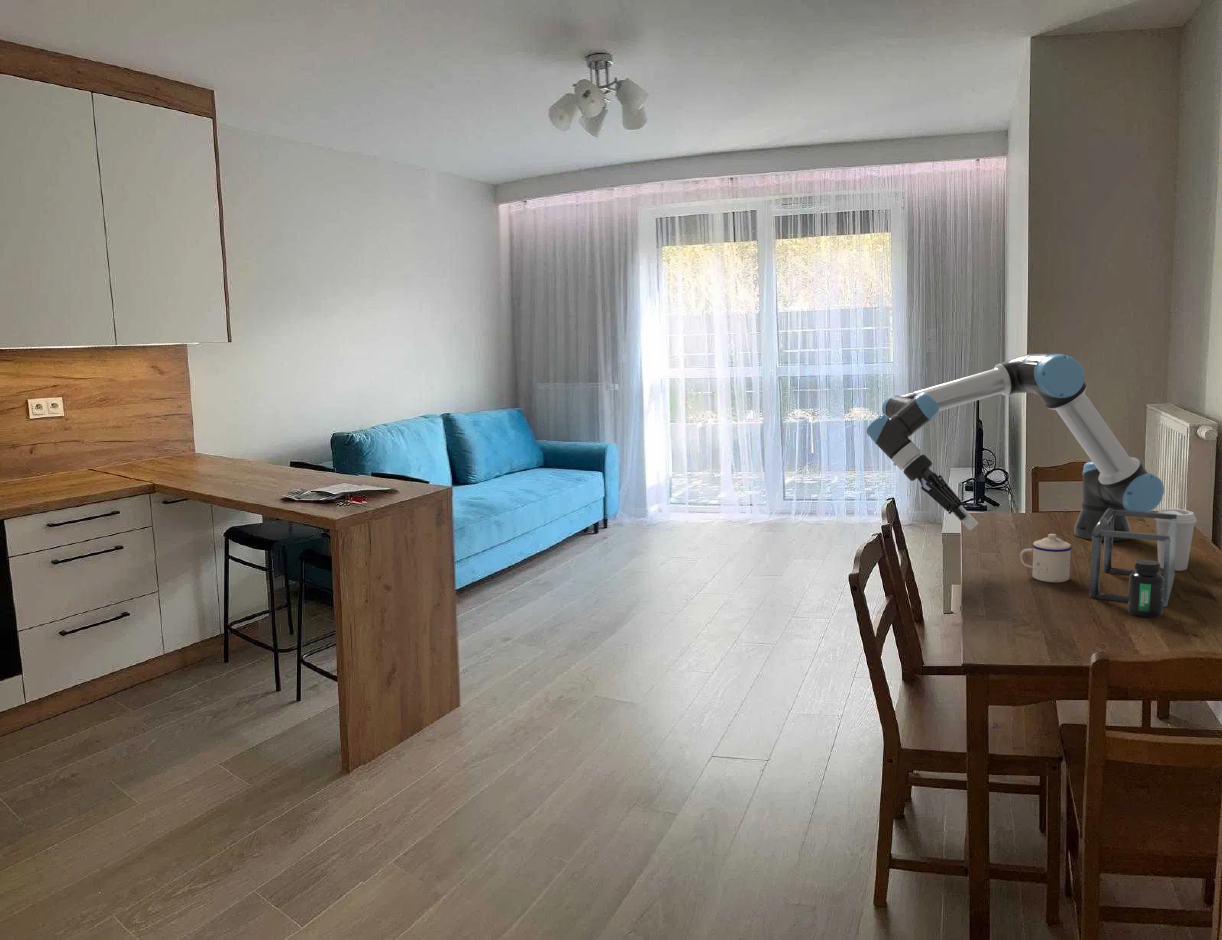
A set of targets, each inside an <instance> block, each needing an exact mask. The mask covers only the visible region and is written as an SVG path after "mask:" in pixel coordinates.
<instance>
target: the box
mask: <svg viewBox="0 0 1222 940" xmlns="http://www.w3.org/2000/svg"><path fill="white" fill-rule="evenodd" d="M1114 515H1118V516H1127V517H1130V518H1131V517H1134V518H1146V519H1154V518H1158V519H1171V520H1172V521H1171V524H1170V527H1169V530H1168V533H1167V535H1159V534H1157V533H1144V532H1135V531H1131V532H1123V531H1113V530H1114ZM1177 524H1178V516H1177V514H1166V513H1158V512H1152V511H1150V512H1138V511H1126V510H1125V511H1124V510H1114V509H1113V508H1108V509H1107V510H1106V511H1105V513H1104V514H1103V516H1102V517H1101V519H1100V520H1099V522H1098V523H1097V525H1096V526H1095V528H1094V529H1093V531H1092V540H1091V549H1090V554H1091V555H1090V570H1089V571H1090V572H1089V573H1090V574H1089V578H1090V579H1089V595H1088V597H1089V598H1091V599H1100V600H1107V601H1116V602H1126V603H1128V595H1120V594H1111V593H1104V592H1102V593H1101V592H1100V581H1101V580H1100V578H1101V577H1100V576H1101V556H1102V553H1101V552H1102V541H1101V538H1102V536H1104V541H1103V561H1102V572H1103V573H1108V574H1109V573H1111V574H1119V575H1120V574H1121V575H1127V576H1128V575H1129V576H1130V575H1131V574H1132V573H1133V572H1135V571H1136V570H1135V569H1127V568H1117V567H1113V548H1114V546H1113V545H1114V541H1113V537H1121V538H1130V539H1134V540H1145V541H1146V540H1147V541H1165V555H1164V569H1163V572H1159V574H1161V575H1162V576H1163V577H1164V601H1163V608H1167V606H1168V603H1169V600H1170V595H1171V591H1172V589H1173V584H1174V582H1175V581H1174V580H1175V576H1176V575H1175V574H1176V571H1175V558H1176V541H1177ZM1104 529H1105V530H1104Z"/></svg>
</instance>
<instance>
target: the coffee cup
mask: <svg viewBox="0 0 1222 940" xmlns="http://www.w3.org/2000/svg"><path fill="white" fill-rule="evenodd" d="M1157 513H1166V514H1177V516H1178V524H1177V541H1176V558H1175V572H1176V571H1178V572H1179V571H1180V572H1181V571H1186V570H1188V565H1189V558H1190V551H1191V545H1192V539H1193V534H1194V527H1195V523H1197V521H1198V520H1197V517H1196V516H1195V513H1194V512H1193V511H1190V510H1186V509H1179V508H1164V509H1159V510H1158V511H1157ZM1153 520H1155V523H1156V525H1155V526H1156V527H1155V528H1156V534H1159V535H1167V533H1168V530H1169V527H1170V524H1171V521H1172V520H1171V519H1158V518H1153ZM1156 543H1157V544H1156V546H1157V548H1156V549H1157V562H1159V563H1160V569H1162V570H1164V555H1165V541H1157V542H1156Z"/></svg>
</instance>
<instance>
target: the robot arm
mask: <svg viewBox="0 0 1222 940" xmlns="http://www.w3.org/2000/svg"><path fill="white" fill-rule="evenodd" d="M1084 378H1085V372H1084V368H1083V366H1082V364H1081V363H1080V362H1079V361H1078V360H1077V359H1075V358H1074V357H1072V356H1069V355H1067V354H1063V353H1044V352H1042V353H1039V352H1032V353H1027V354H1025V355H1022V356H1019V357H1015V358H1013V359H1009V360H1007V361H1004V362H1003V361H1002V362H1001V363H996V364H995V366H994V367H993V368H992V369H989V370H985V371H981V372H979V373H975V374H971V375H968V376H965V377H961V378H957V379H954V380H951V381H947V382H944V383H941V384H937V385H933V386H930V387H926V388H924V389H920V390H916V391H913V392H910V393H907V394H903V395H896V394H895V395H891V396H889V397H887V398H885V400H884V401H883V403H882V406H881V410H882V411H881V412H882V414H881V415H879V416H878V417H876V418H875V419H874V420H873V421H872V422H871V423H870V424H869V425H868V427H867V428H866V434H867V436H869V437H870V439H871V440H872V441H873V443H874V444H875V445H876V446H877V447H879V449H880V450H881V452H883V453H884V454H885V455H886V457H888V458H889V459H890V460H891V461H892V462H893V466H897V467H898V469H899V470H900V471H902V470H903V471H902V472H903V474H904V475H905V477H907V479H908V480H909V481H911V482H914V481H915V480H918V481H919V483H920V485H921V486H920V489H921V490H922V491H923V492H925V493H926V494H928V495H929V497H931V498H932V499H933V500H934V501H935V502H936V503H938V504H939V505H940V506H941V507H942V508H943V509H944V510H945V511H947V512H948V513H947V514H949V515H951V514H952V515H954V516H955V517H956V518H957V519H958V520H959V522H961V523H962V524H963V525H964V527H965V528H966V529H967V530H969V531H971V530H972V529H974V528H975V527H976V526H977V525H979V522H978V521H977V520H976V519H975V518H974V516H972V515H971V514H970V513H969V511H967V509H966V508H964V507H963V504H964V502H963V501H961V499H960V498H959V496H958V495H957V494H956V493H955V492H954V490H953V489H952V488H951V487H950V486H949V485H948V483H947V482H946V481H945V479H944V478H943V476H942V474H939V475H938V474H937V473H935V472H934V471H932V470H931V469H930V468H931V467H932V465H933V462H932V461H931V459H929V458H928V456H927V455H925V454H922V453H923V451H922V450H921V449H920V448H919V447H918V446H917V445H916V443H914V442H913V441H912V440H911V438H910V437H911V436H912V435H914V434H915V433H916V432H917V431H918V430H920V429H921V428H922V427H923V426H924V425H926V424H927V423H928V422H929V421H932V419H933V418H934V417H935V416H936V415H938V413H939V412H941V411H945V410H948V409H952V408H955V407H956V408H957V407H958V406H962V405H965V404H970V403H973V402H977V401H979V400H980V401H981V400H983V399H987V398H989V397H990V398H991V397H994V396H997V395H1003V396H1006V397H1007V396H1009V395H1013V394H1019V393H1021V394H1023V393H1024V394H1025V393H1027V394H1035V395H1037V396H1038V397H1039V399H1040V400H1041V402H1042V403H1043V404H1044V406H1045V407H1046V408H1047V410H1053V411H1056V412H1057V414H1058V415H1059V417H1060V418H1061V419H1062V421H1063V422H1064V424H1065V426H1067V428H1068V429H1069V431H1070V432H1071V434H1072V435H1073V437H1074V438H1075V439H1076V441H1077V442H1078V443H1079V445H1080V446H1081V448H1082V450H1084V452H1085V453H1086V454H1087V456H1088V458H1089V459H1090V460H1091V461H1088V462H1086V463H1084V465H1083V470H1082V473H1081V474H1082V489H1081V490H1082V491H1081V511H1080V512H1079V515H1078V517H1077V520H1076V523H1075V525H1074V526H1073V527H1074V530H1073V532H1074V536H1075V537H1077V538H1082V539H1086V540H1091V541H1092V531H1093V529H1094V528H1095V526H1096V525H1097V523H1098V522H1099V520H1100V519H1101V517H1102V516H1103V514H1104V513H1105V511H1106V510H1107V509H1108V508H1113V509H1114V510H1124V511H1138V512H1152V511H1153V510H1154V509H1156V508H1157V507H1158V506H1159V504H1160V503H1161V502H1162V501H1163V496H1164V494H1165V486H1164V482H1163V481H1162V480H1161V478H1160V477H1159V476H1157V475H1155V474H1153V473H1149V472H1148V470H1146V468H1145V466H1144V465H1143V464H1142V462H1141V460H1139V458H1137V457H1133V456H1130V455H1129V454H1128V453H1127V452H1126V450H1125V448H1124V447H1123V446H1122V444H1121V443H1120V441H1119V440H1118V439H1117V437H1116V436H1115V434H1114V432H1113V431H1112V430H1111V428H1110V427H1109V426H1108V424H1107V423H1106V421H1105V420H1104V419H1103V417H1102V415H1101V414H1100V413H1099V411H1098V410H1097V408H1096V407H1095V405H1094V404H1093V403H1092V401H1091V399H1090V398H1089V397H1088V396H1087V394H1086V391H1087V387H1088V385H1087V384H1086V382H1085V380H1084ZM1104 530H1105V529H1104ZM1113 531H1123V532H1132V529H1131V526H1130V522H1129V519H1128V516H1118V515H1114V530H1113ZM1130 539H1131V538H1121V537H1113V542H1120V541H1127V540H1130ZM1101 542H1104V536H1102V538H1101Z"/></svg>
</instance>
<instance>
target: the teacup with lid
mask: <svg viewBox="0 0 1222 940" xmlns="http://www.w3.org/2000/svg"><path fill="white" fill-rule="evenodd" d="M1032 547H1033V548H1024V549H1023V550H1022V551H1020V553H1019V559H1020V562H1021V564H1023V565H1024V566H1025V567H1027V568H1030V569H1032V575H1031V576H1032V577H1033V579H1036V580H1038V581H1039V582H1040V581H1041V582H1047V583H1065V582H1067V581H1069V580H1070V576H1071V575H1070V570H1071V550H1072V544H1071V543H1069V542H1067V541H1064V540H1062V539H1061V538H1059V537H1057V534H1056V533H1048V535H1047V537H1044V538H1042V539H1038V540H1035V541H1034V542H1033V543H1032ZM1027 552H1028V553H1033V554H1032V564H1031V563H1028V562H1026V560H1025V558H1024V554H1025V553H1027Z"/></svg>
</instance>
